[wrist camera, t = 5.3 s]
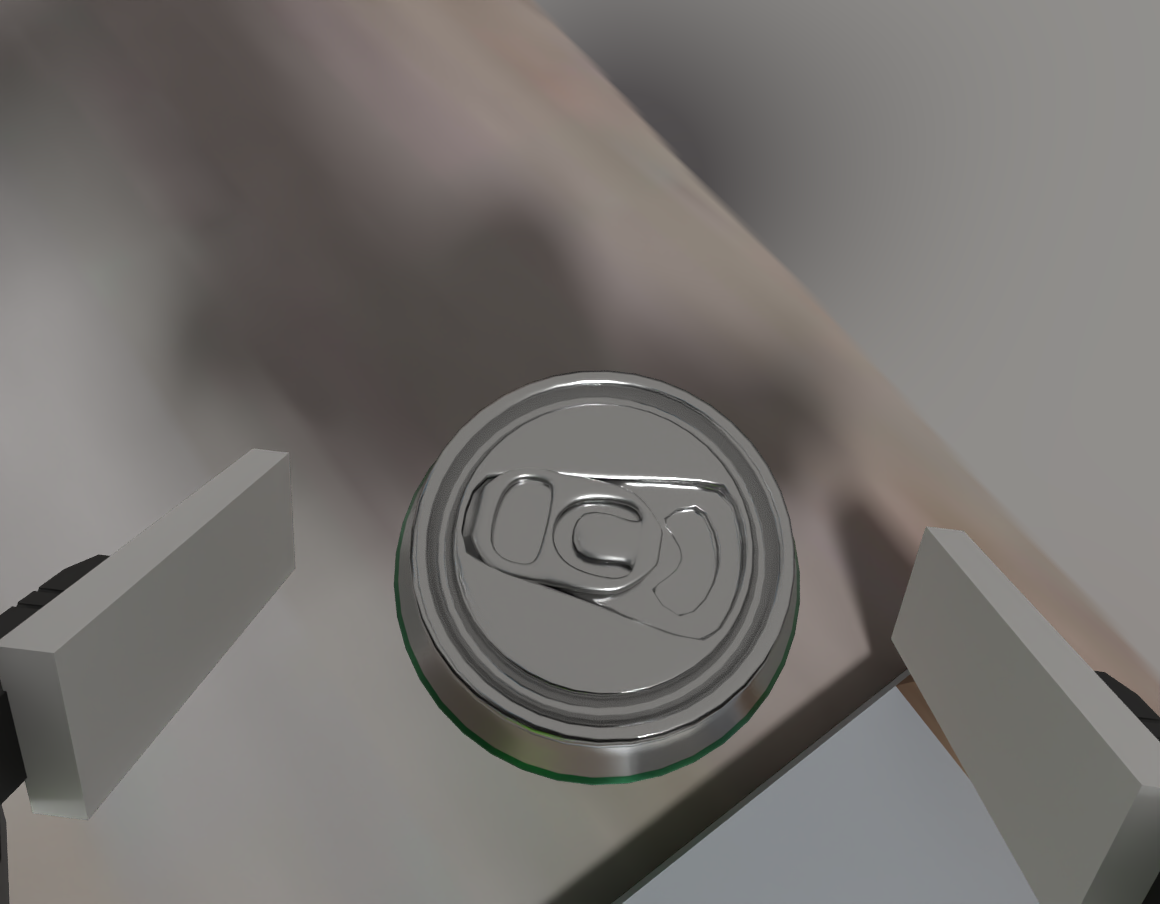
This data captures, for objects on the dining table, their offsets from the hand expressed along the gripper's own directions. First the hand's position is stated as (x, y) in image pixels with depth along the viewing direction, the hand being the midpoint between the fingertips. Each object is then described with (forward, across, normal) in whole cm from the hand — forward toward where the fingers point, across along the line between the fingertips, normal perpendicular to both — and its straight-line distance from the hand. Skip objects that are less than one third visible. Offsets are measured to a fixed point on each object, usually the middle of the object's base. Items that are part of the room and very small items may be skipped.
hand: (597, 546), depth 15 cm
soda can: (+2, 0, -5) cm, 6 cm away
